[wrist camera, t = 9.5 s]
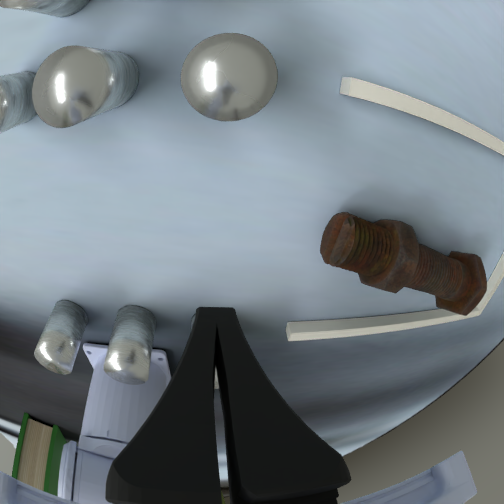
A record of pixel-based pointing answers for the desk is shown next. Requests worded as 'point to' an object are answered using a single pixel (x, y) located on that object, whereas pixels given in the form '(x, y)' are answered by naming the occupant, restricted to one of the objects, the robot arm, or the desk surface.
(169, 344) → the desk surface
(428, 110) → the tray rim
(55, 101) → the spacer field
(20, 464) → the hardback book
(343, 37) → the desk surface
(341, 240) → the bolt
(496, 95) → the desk surface
